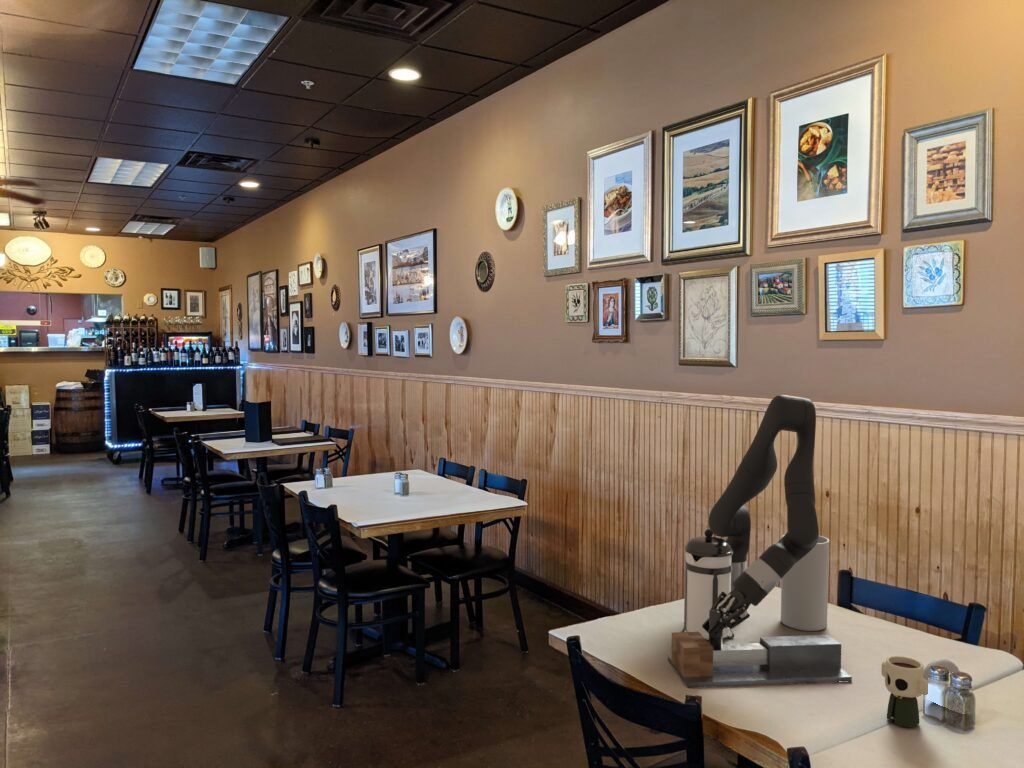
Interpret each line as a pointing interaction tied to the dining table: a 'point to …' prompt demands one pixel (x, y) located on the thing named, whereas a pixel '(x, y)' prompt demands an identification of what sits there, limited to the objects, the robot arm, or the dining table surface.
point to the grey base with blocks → (781, 664)
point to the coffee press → (705, 579)
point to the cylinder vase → (807, 590)
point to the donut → (942, 663)
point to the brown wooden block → (692, 654)
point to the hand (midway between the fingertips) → (707, 632)
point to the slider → (735, 648)
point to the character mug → (904, 689)
